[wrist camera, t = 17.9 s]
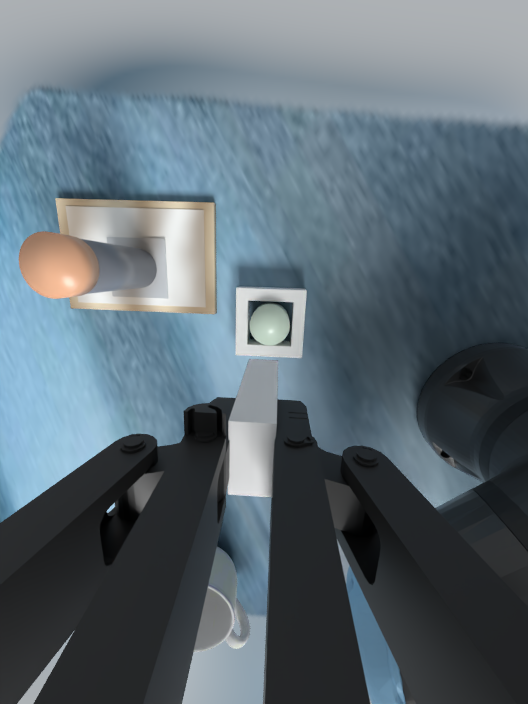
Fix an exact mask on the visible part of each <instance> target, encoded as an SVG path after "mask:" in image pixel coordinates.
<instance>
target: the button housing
mask: <svg viewBox="0 0 528 704" xmlns="http://www.w3.org/2000/svg"><path fill="white" fill-rule="evenodd" d="M306 293H307V290H306V289H300V288H273V287H247V286H239V287H237V288H236V355H244V356H266V357H288V358H302V349H303V335H304V321H305V307H306ZM250 301H275V302H293V303H292V320H291V337H290V341H282V342H280V343H278V344H275V345H264V344H261V343H259V342H258V341H257V340H256V339H249V335H250Z"/></svg>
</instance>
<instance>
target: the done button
mask: <svg viewBox="0 0 528 704" xmlns="http://www.w3.org/2000/svg"><path fill="white" fill-rule="evenodd" d="M289 329H290V322H289V316H288V313H287V311H286V310H285V309H284V307H283V306H281V305H280V304H278V303H274V302H266V303H263V304H261V305H260V306H258V307H257V308H256V310H255V311H254V313H253V315H252V317H251V319H250V331H251V334H252V336H253V337H254V338H255V339H256V340H257V341H258V342H259V343H261V344H264V345H275V344H278V343H280V342H282V341H283V340H284V339H285V338H286V336H287V335H288V333H289Z"/></svg>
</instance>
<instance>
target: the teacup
mask: <svg viewBox="0 0 528 704" xmlns="http://www.w3.org/2000/svg"><path fill="white" fill-rule="evenodd" d="M236 593H237V573H236V569H235V566H234V563H233V561H232V560H231V558H230V557H229V555H228V554H227V553H226V552H225V551H223V550H222V549H221V548H219V547H217V548H216V553H215V557H214V561H213V566H212V570H211V575H210V579H209V584H208V588H207V593H206V597H205V602H204V606H203V611H202V615H201V620H200V624H199V629H198V633H197V638H196V642H195V647H194V651H193V652H201V651H206V650H209V649H212V648H213V647H215V646H217V645H219V644H221V643H222V642H223V641H224V640H226V642H227V643H228V645H229V646H231V647H232V648H234V649H238V648H241V647H242V646H243V645H244V644H246V642H247V640H248V638H249V635H250V625H249V619H248V617H247V614H246V612H245V610H244V608H243V607H242V605H241V604H240V602H239V601H238V599H237V598H236ZM235 616H236V618H237V620H238V622H239V626H240V629H241V630H240V631H241V635H240V636H238V635H237V634H236V633H235V632H234V630H233V626H234V621H235Z"/></svg>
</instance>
